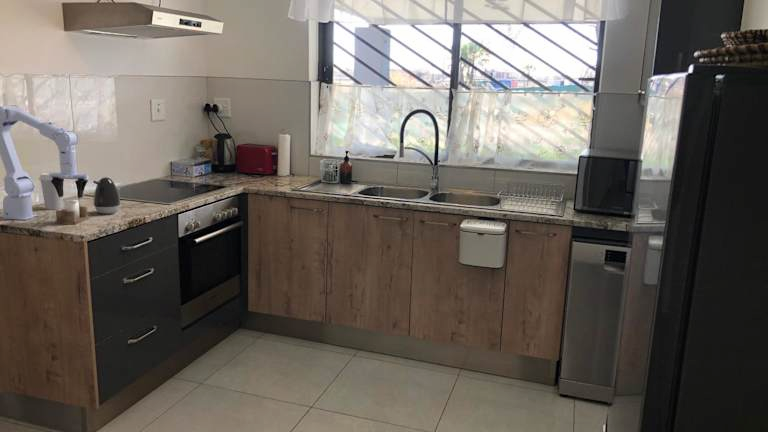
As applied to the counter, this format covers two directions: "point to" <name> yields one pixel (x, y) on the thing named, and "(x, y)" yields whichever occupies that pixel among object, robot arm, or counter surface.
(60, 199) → the coffee cup
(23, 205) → the robot arm
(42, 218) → the counter surface
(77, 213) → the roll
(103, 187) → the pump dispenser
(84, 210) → the holder
